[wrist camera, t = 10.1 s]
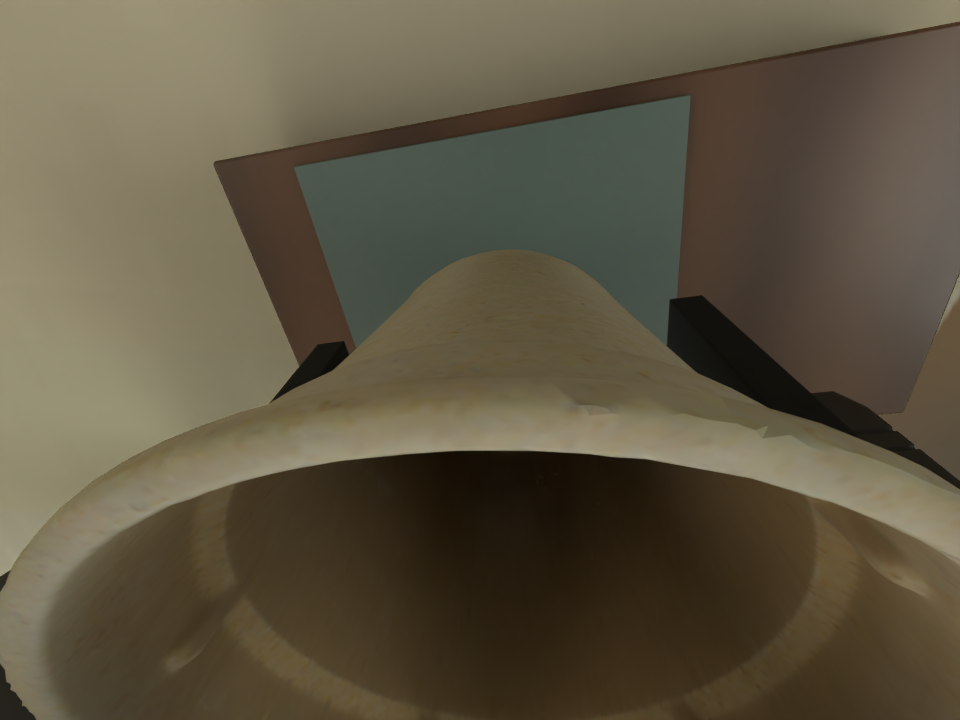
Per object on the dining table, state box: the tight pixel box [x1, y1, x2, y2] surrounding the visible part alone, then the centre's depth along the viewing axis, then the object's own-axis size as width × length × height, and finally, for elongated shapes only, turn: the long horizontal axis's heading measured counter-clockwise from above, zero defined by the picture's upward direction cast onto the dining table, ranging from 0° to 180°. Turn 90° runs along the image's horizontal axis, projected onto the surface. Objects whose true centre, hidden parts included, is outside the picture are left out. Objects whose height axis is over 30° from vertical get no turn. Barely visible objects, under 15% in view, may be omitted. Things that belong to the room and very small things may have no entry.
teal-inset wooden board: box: [214, 22, 960, 415], centre depth 16 cm, size 22×12×5 cm, turn 99°
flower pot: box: [0, 250, 960, 720], centre depth 8 cm, size 9×9×9 cm
